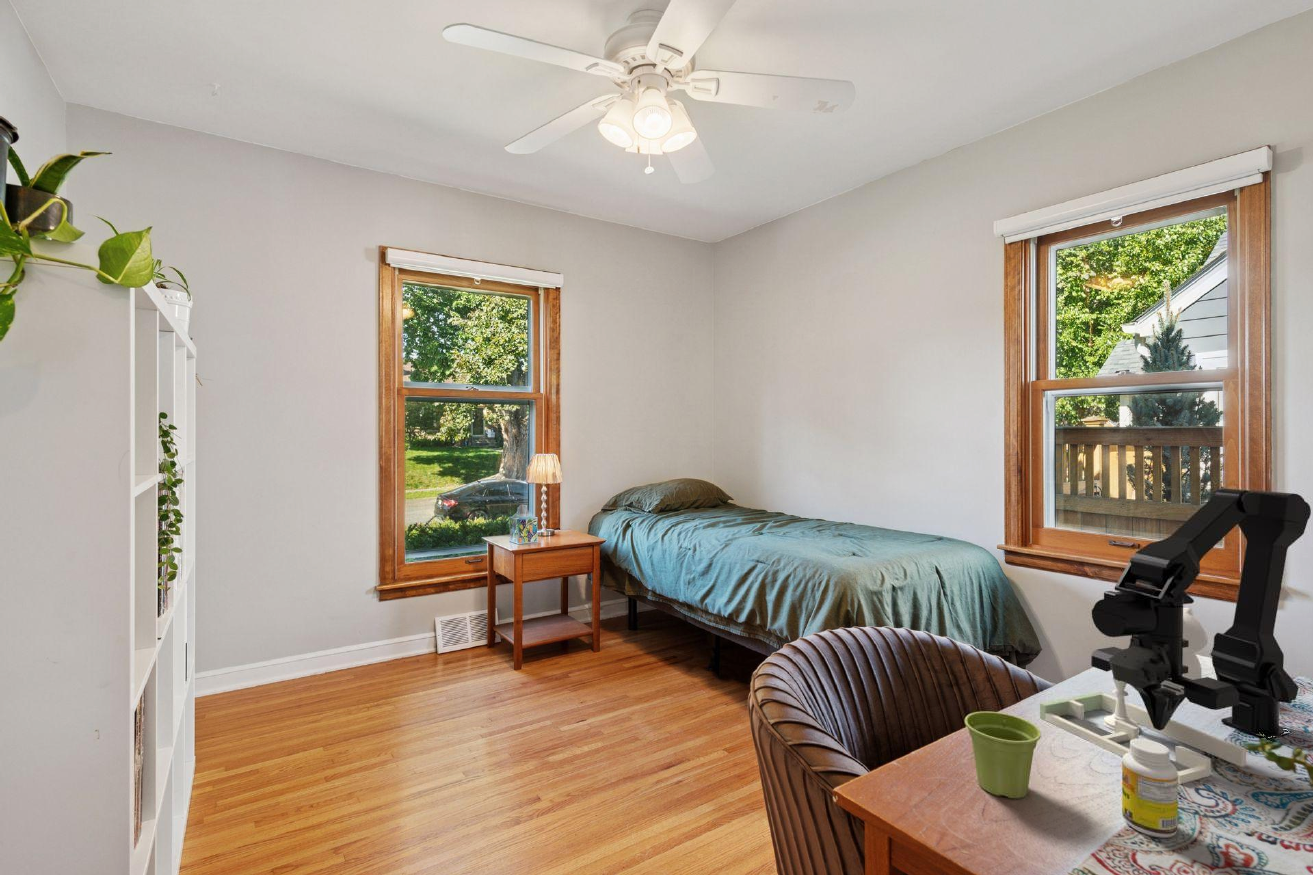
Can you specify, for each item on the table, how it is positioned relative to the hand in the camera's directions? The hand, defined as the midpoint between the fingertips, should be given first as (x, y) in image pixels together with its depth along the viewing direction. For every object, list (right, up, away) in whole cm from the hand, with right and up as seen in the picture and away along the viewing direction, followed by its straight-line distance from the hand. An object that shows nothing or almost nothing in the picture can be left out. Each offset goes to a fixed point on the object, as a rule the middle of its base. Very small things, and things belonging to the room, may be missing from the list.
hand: (1158, 729), depth 102 cm
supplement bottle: (-18, -3, -21) cm, 28 cm away
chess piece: (-2, -2, +6) cm, 6 cm away
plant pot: (-32, -3, -12) cm, 34 cm away
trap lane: (-3, -2, +1) cm, 4 cm away
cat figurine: (+20, -2, +24) cm, 31 cm away
